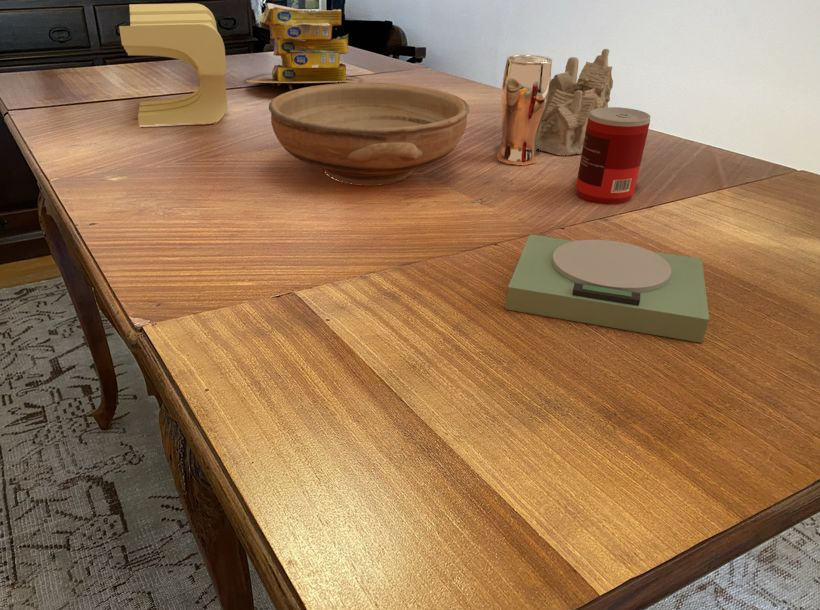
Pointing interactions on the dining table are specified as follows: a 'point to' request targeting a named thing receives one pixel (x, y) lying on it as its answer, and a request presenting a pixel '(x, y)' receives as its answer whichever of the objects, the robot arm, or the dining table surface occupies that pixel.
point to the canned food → (612, 154)
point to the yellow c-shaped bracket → (180, 58)
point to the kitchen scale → (611, 286)
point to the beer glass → (523, 106)
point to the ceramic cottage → (573, 105)
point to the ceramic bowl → (368, 128)
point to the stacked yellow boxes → (305, 45)
